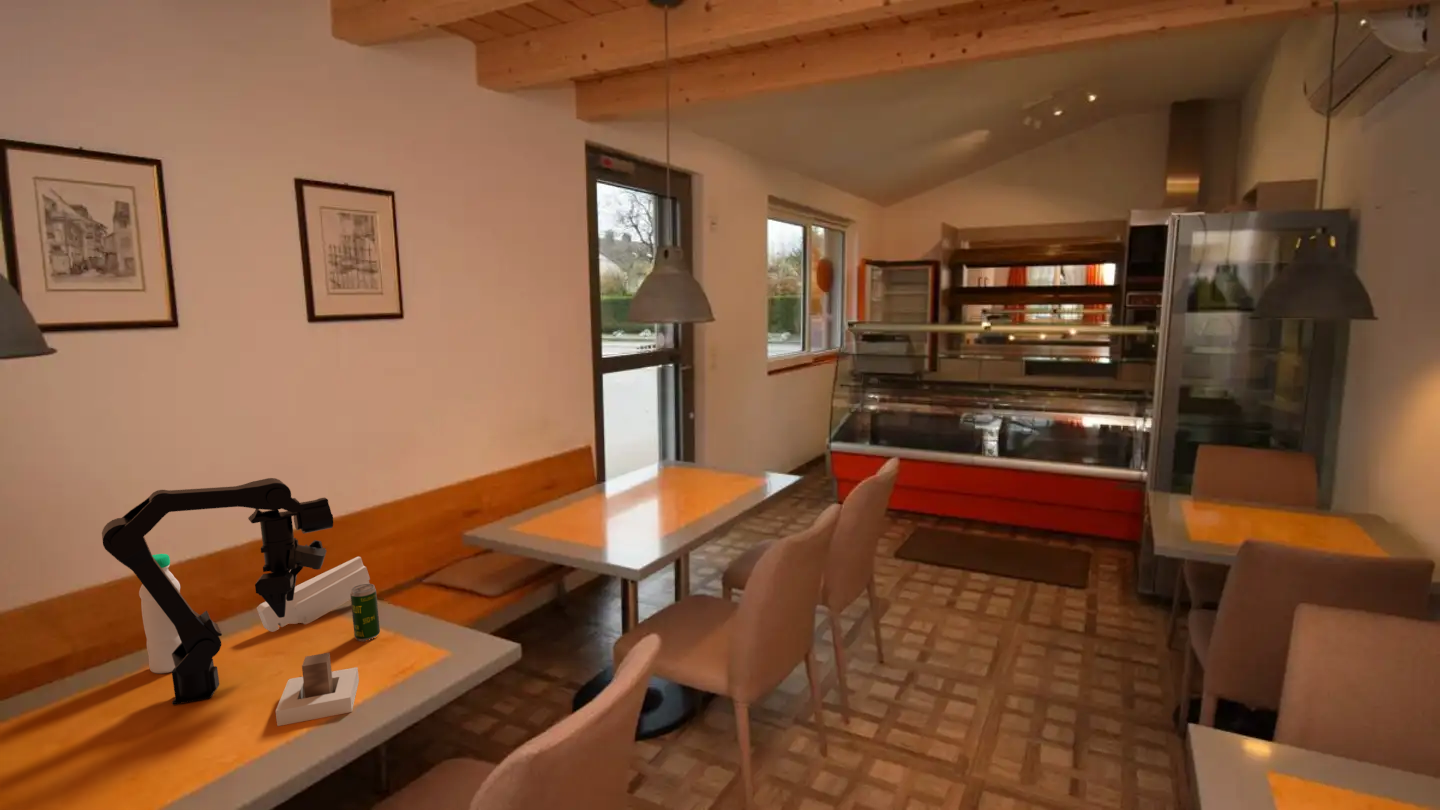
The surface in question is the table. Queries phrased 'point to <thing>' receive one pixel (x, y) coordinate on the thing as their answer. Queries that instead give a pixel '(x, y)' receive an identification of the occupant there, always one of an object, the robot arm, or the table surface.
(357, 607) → the beer can
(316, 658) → the walnut post
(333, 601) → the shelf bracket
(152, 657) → the water bottle
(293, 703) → the well block
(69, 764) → the table surface
